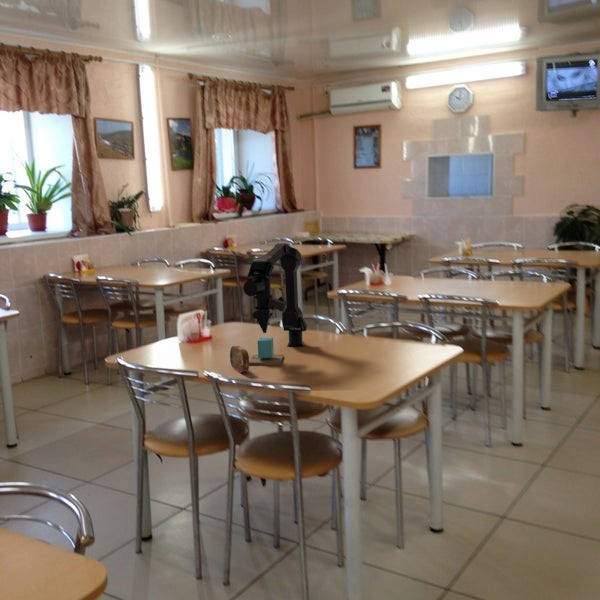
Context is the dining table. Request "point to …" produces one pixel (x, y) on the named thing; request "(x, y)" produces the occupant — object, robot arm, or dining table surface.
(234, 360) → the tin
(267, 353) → the teal rectangular block
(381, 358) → the dining table surface
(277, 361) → the post stand
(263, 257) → the robot arm
